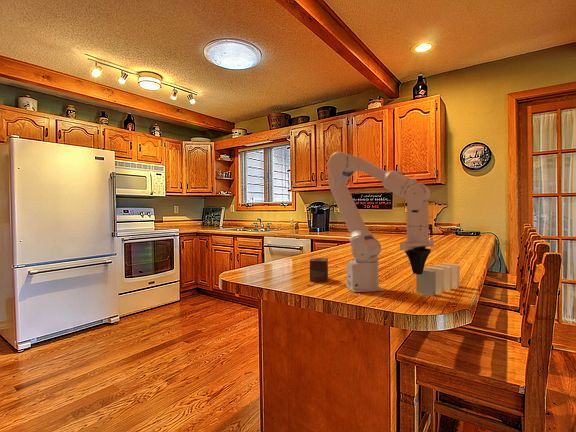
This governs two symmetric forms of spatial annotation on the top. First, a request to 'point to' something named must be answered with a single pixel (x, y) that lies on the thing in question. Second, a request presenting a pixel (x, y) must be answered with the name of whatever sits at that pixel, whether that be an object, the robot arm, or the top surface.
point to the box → (319, 269)
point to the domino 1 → (426, 282)
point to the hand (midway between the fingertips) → (417, 273)
